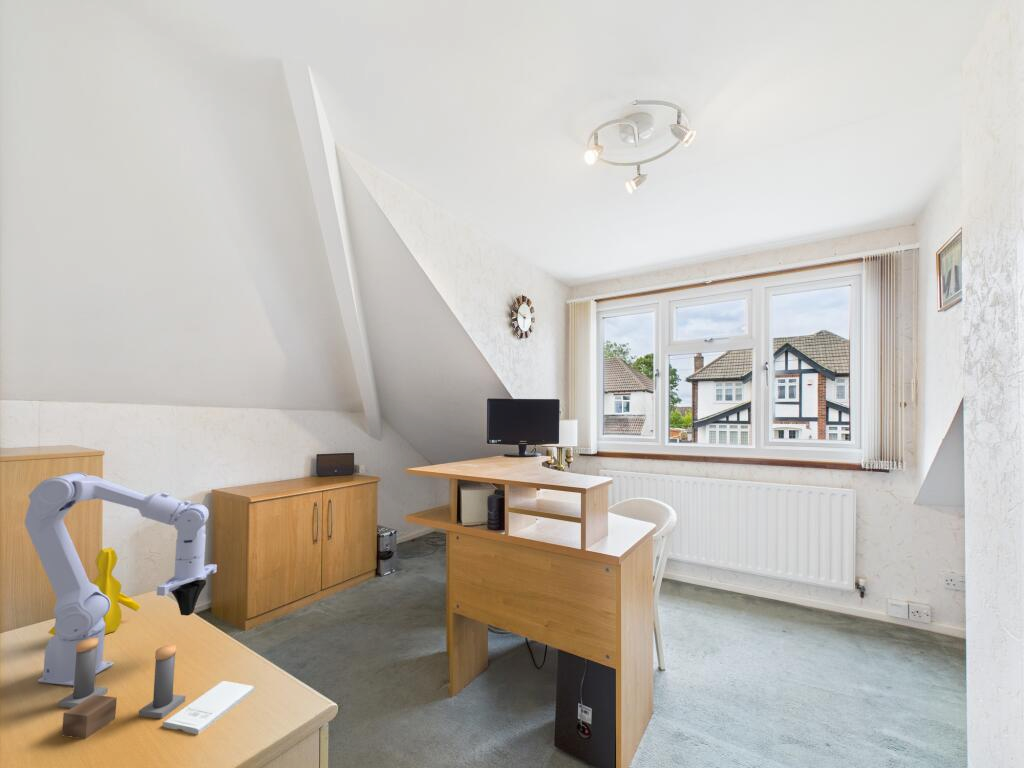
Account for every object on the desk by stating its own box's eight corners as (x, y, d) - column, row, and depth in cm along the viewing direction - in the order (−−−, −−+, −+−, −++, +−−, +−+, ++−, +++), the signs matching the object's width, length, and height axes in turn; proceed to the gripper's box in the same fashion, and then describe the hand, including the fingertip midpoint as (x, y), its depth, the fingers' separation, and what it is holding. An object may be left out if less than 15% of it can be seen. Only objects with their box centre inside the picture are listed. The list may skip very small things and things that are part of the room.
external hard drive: (253, 694, 89) (198, 737, 77) (221, 688, 91) (162, 729, 79) (254, 686, 90) (198, 728, 78) (222, 680, 91) (162, 720, 79)
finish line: (58, 706, 84) (62, 647, 85) (86, 690, 89) (90, 634, 90) (161, 718, 81) (165, 657, 82) (185, 701, 86) (188, 643, 87)
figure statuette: (136, 616, 121) (141, 537, 122) (147, 624, 117) (152, 541, 118) (44, 644, 106) (52, 553, 107) (53, 655, 102) (60, 560, 103)
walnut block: (61, 736, 77) (63, 712, 77) (92, 716, 82) (94, 694, 82) (85, 739, 76) (87, 715, 76) (115, 719, 81) (116, 697, 81)
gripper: (178, 567, 96) (174, 630, 95) (228, 547, 111) (225, 601, 110) (150, 566, 97) (146, 628, 96) (204, 546, 111) (201, 600, 111)
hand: (186, 614), depth 103 cm, fingers closed
